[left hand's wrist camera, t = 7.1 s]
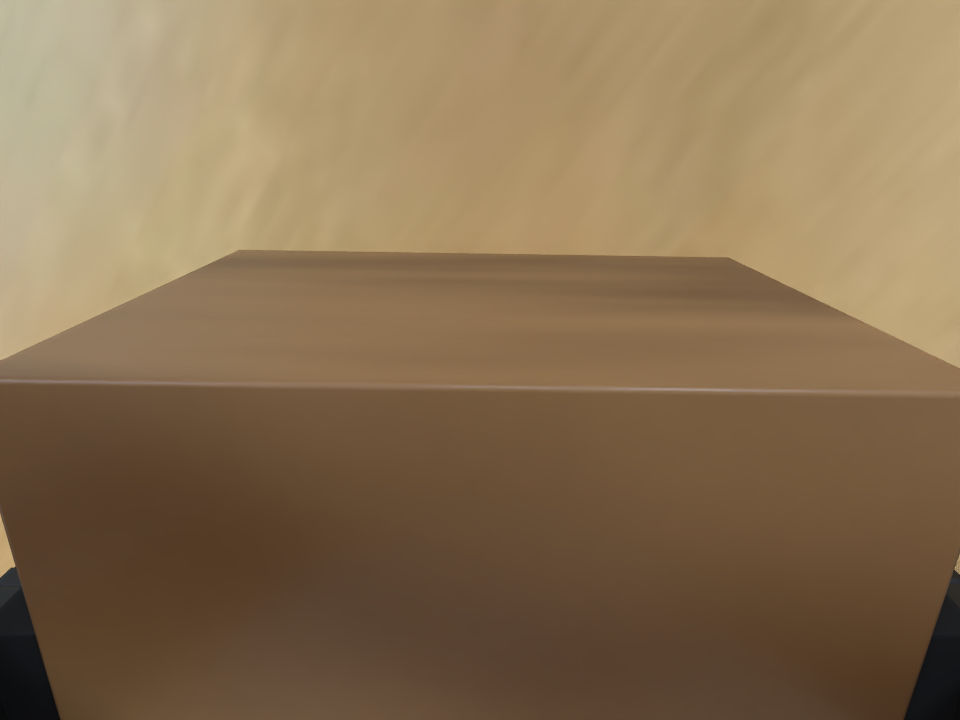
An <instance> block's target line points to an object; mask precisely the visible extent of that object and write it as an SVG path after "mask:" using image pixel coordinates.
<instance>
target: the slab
mask: <svg viewBox="0 0 960 720" xmlns="http://www.w3.org/2000/svg"><path fill="white" fill-rule="evenodd" d="M0 514H1V517H2V521H3V524H4V527H5V531H6V534H7V538H8V541H9V545H10V548H11V552H12V555H13V559H14V562H15V565H16V569H17V572H18V576H19V579H20V583H21V586H22V590H23V593H24V597H25V600H26V603H27V607H28V610H29V614H30V617H31V621H32V624H33V628H34V631H35V635H36V638H37V641H38V645H39V648H40V652H41V655H42V659H43V662H44V666H45V669H46V673H47V676H48V679H49V683H50V686H51V690H52V693H53V697H54V700H55V704H56V707H57V711H58V714H59V717H60V720H904V718H905V715H906V712H907V709H908V706H909V703H910V700H911V697H912V694H913V691H914V688H915V685H916V682H917V679H918V676H919V673H920V670H921V667H922V664H923V661H924V658H925V655H926V652H927V649H928V646H929V643H930V640H931V637H932V634H933V631H934V628H935V625H936V622H937V619H938V616H939V613H940V610H941V607H942V604H943V601H944V598H945V595H946V592H947V589H948V586H949V583H950V580H951V577H952V574H953V571H954V568H955V565H956V562H957V559H958V556H959V553H960V368H958V367H956V366H954V365H951V364H949V363H947V362H945V361H943V360H941V359H939V358H937V357H935V356H933V355H931V354H928V353H926V352H924V351H922V350H920V349H918V348H916V347H914V346H912V345H910V344H908V343H906V342H903V341H901V340H899V339H897V338H895V337H893V336H891V335H889V334H887V333H885V332H883V331H880V330H878V329H876V328H874V327H872V326H870V325H868V324H866V323H864V322H862V321H860V320H858V319H855V318H853V317H851V316H849V315H847V314H845V313H843V312H841V311H839V310H837V309H835V308H832V307H830V306H828V305H826V304H824V303H822V302H820V301H818V300H816V299H814V298H812V297H809V296H807V295H805V294H803V293H801V292H799V291H797V290H795V289H793V288H791V287H789V286H787V285H784V284H782V283H780V282H778V281H776V280H774V279H772V278H770V277H768V276H766V275H764V274H761V273H759V272H757V271H755V270H753V269H751V268H749V267H747V266H745V265H743V264H741V263H739V262H736V261H734V260H732V259H730V258H721V257H657V256H593V255H528V254H464V253H400V252H336V251H272V250H238V251H236V252H234V253H232V254H230V255H227V256H225V257H223V258H221V259H219V260H217V261H215V262H212V263H210V264H208V265H206V266H204V267H202V268H199V269H197V270H195V271H193V272H191V273H189V274H186V275H184V276H182V277H180V278H178V279H176V280H174V281H171V282H169V283H167V284H165V285H163V286H161V287H158V288H156V289H154V290H152V291H150V292H148V293H146V294H143V295H141V296H139V297H137V298H135V299H133V300H130V301H128V302H126V303H124V304H122V305H120V306H117V307H115V308H113V309H111V310H109V311H107V312H105V313H102V314H100V315H98V316H96V317H94V318H92V319H89V320H87V321H85V322H83V323H81V324H79V325H77V326H74V327H72V328H70V329H68V330H66V331H64V332H61V333H59V334H57V335H55V336H53V337H51V338H48V339H46V340H44V341H42V342H40V343H38V344H36V345H33V346H31V347H29V348H27V349H25V350H23V351H20V352H18V353H16V354H14V355H12V356H10V357H8V358H5V359H3V360H1V361H0Z"/></svg>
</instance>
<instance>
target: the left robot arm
mask: <svg viewBox="0 0 960 720" xmlns="http://www.w3.org/2000/svg"><path fill="white" fill-rule="evenodd" d="M0 720H60V717H59V714H58V711H57V707H56V704H55V700H54V697H53V693H52V690H51V686H50V683H49V679H48V676H47V673H46V669H45V666H44V662H43V659H42V655H41V652H40V648H39V645H38V641H37V638H36V635H35V631H34V628H33V624H32V621H31V617H30V614H29V610H28V607H27V603H26V600H25V597H24V593H23V590H22V586H21V583H20V579H19V576H18V572H17V569H16V567H15V568H10V569H9V570H8V571H7V572H6V573H5V574H4V575H3V576H2V577H1V578H0ZM904 720H960V575H959V574H958V573H957V572H956V571H955V570H954V571H953V574H952V577H951V580H950V583H949V586H948V589H947V592H946V595H945V598H944V601H943V604H942V607H941V610H940V613H939V616H938V619H937V622H936V625H935V628H934V631H933V634H932V637H931V640H930V643H929V646H928V649H927V652H926V655H925V658H924V661H923V664H922V667H921V670H920V673H919V676H918V679H917V682H916V685H915V688H914V691H913V694H912V697H911V700H910V703H909V706H908V709H907V712H906V715H905V718H904Z"/></svg>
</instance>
